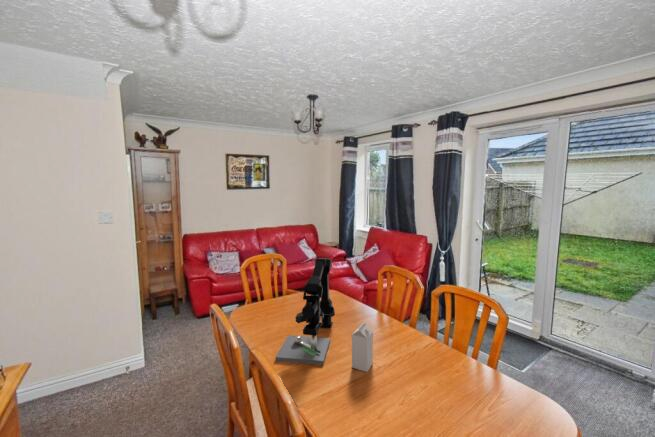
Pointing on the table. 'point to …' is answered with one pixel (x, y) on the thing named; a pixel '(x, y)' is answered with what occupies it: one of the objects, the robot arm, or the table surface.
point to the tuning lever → (313, 343)
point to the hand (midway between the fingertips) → (314, 339)
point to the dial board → (303, 351)
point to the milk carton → (362, 348)
